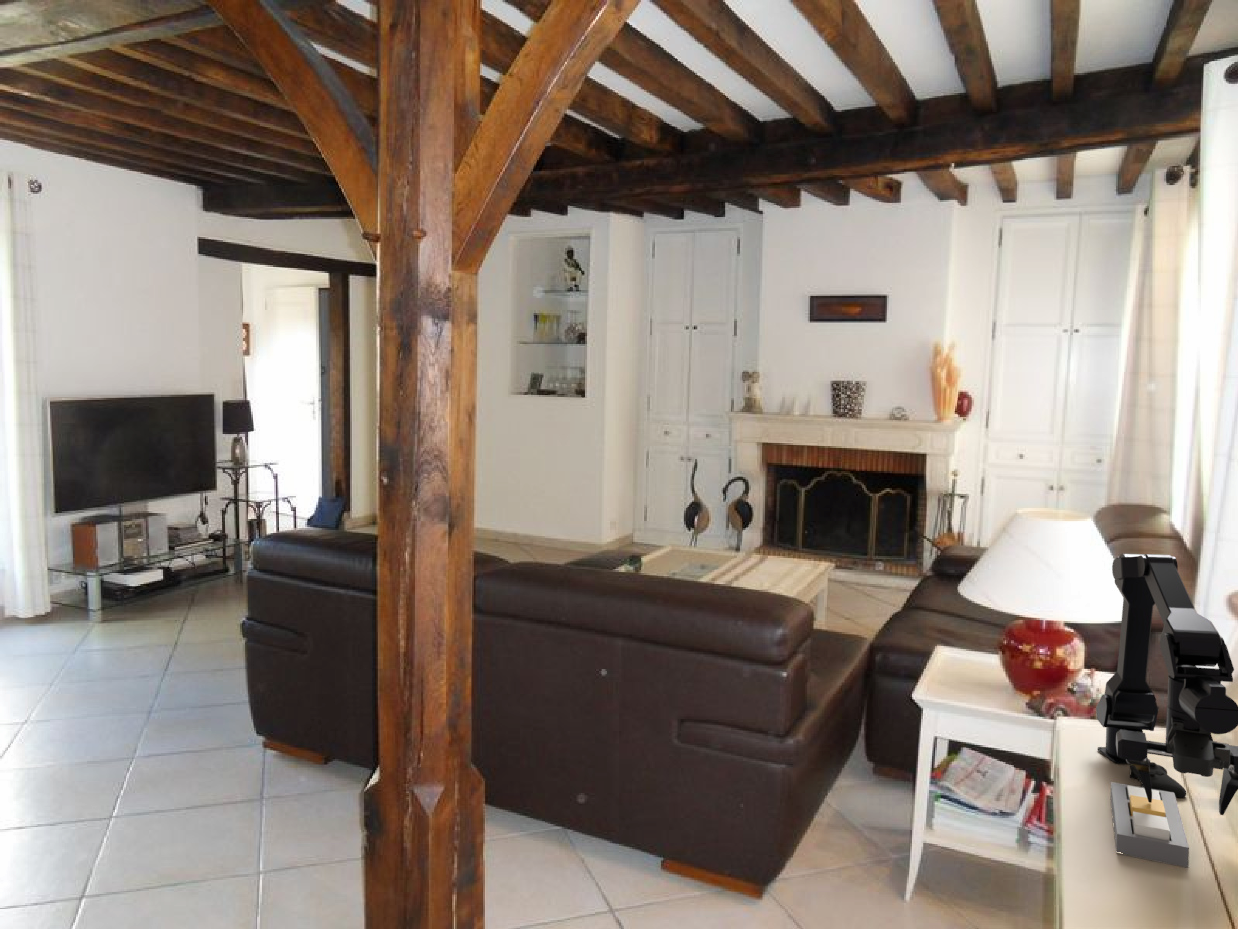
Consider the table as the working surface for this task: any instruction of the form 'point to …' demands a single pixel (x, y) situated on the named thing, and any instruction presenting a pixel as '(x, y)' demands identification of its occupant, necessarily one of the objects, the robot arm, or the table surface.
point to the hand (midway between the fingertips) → (1184, 807)
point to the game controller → (1160, 780)
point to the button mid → (1146, 806)
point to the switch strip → (1142, 845)
